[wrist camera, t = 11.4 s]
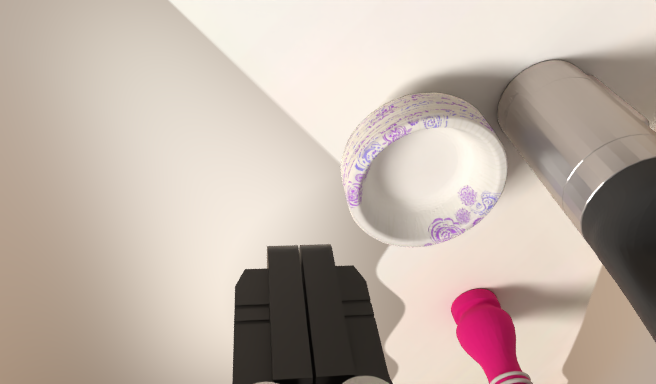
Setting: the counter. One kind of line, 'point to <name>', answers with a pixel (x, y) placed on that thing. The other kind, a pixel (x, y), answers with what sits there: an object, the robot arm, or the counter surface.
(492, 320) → the pepper mill
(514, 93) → the robot arm
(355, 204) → the paper bowls
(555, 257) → the counter surface
